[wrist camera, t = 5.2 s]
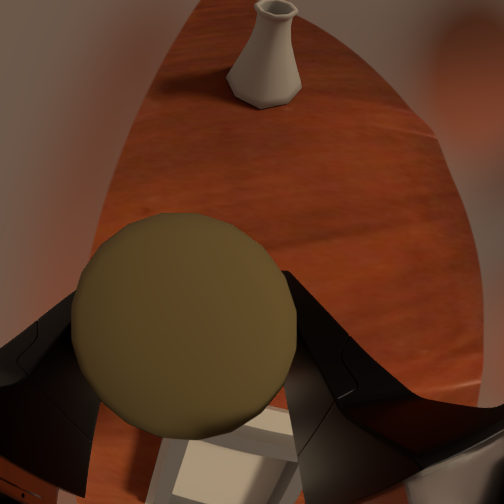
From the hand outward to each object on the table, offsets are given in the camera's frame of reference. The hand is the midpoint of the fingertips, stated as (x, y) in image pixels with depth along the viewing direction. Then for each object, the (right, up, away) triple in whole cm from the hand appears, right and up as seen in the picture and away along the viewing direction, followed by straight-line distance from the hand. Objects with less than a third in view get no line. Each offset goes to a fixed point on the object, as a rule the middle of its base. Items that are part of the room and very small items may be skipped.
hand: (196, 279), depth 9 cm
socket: (0, -17, +10) cm, 20 cm away
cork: (0, -3, +6) cm, 7 cm away
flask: (+3, +18, +17) cm, 25 cm away
